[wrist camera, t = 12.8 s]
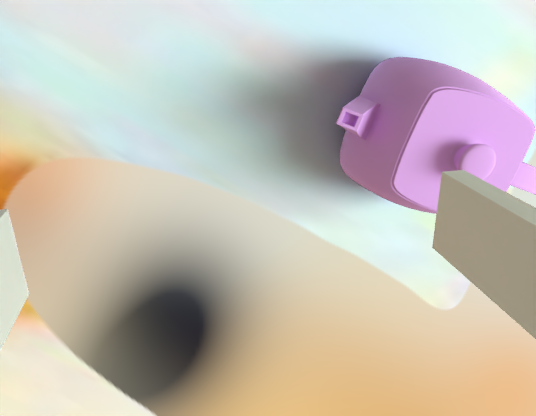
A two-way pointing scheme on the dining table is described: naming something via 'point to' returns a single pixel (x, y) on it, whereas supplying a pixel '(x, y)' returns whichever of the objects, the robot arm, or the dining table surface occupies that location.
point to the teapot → (432, 133)
